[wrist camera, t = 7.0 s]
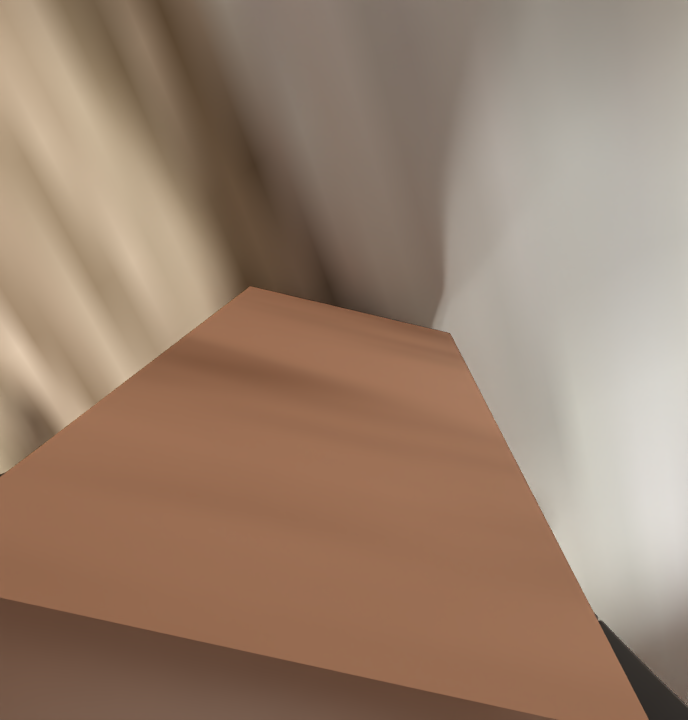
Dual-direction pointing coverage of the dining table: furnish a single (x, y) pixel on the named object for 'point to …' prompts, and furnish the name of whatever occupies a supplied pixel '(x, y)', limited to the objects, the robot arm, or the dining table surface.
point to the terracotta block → (292, 542)
